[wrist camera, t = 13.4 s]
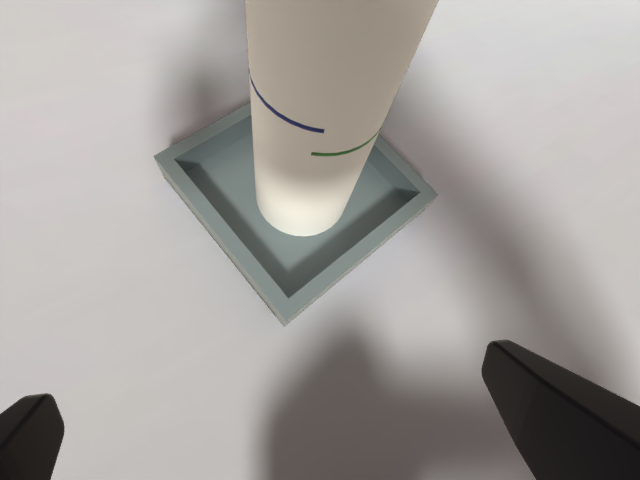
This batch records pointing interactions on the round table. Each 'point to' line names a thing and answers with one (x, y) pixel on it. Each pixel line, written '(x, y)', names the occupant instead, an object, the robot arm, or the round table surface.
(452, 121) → the round table surface
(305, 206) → the cylindrical container
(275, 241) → the tray
